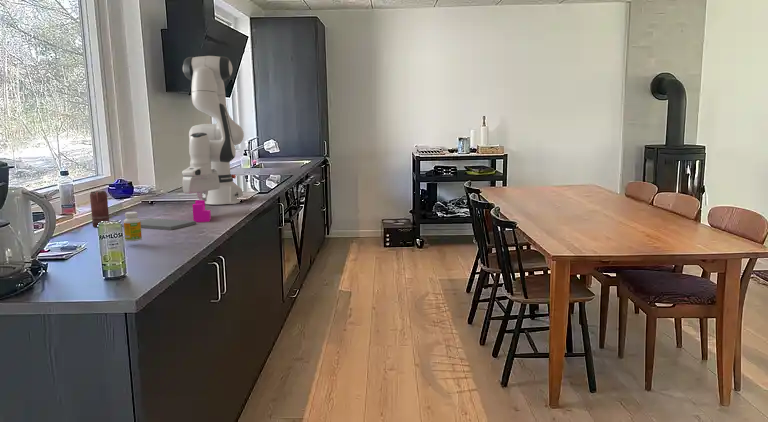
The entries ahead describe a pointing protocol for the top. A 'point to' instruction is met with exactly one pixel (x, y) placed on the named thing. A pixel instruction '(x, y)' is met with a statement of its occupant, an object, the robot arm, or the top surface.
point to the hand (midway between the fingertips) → (203, 201)
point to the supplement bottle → (132, 227)
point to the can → (99, 207)
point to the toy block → (201, 212)
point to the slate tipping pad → (165, 223)
